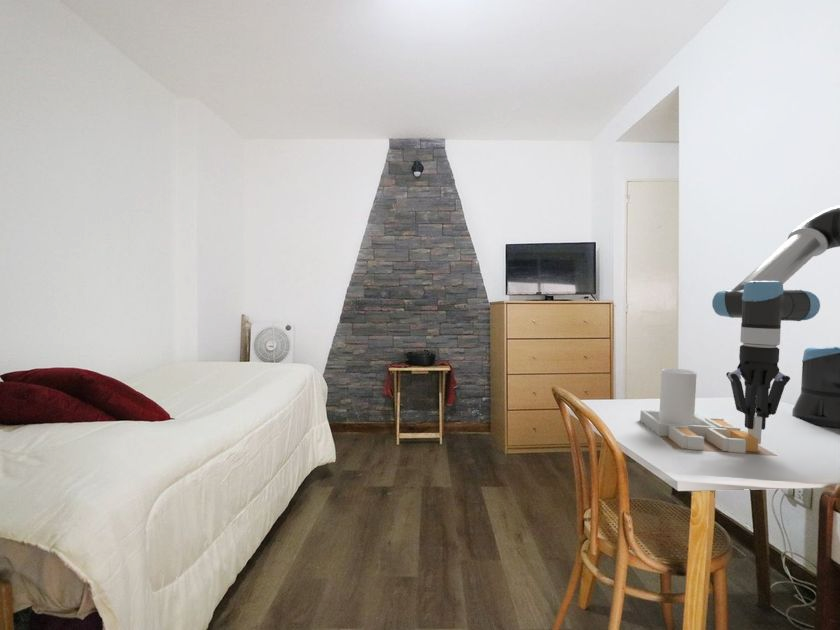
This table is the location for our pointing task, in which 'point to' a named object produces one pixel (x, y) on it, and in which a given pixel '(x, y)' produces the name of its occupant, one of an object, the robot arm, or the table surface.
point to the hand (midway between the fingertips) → (753, 441)
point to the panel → (711, 447)
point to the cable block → (750, 440)
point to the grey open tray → (725, 440)
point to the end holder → (663, 429)
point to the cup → (677, 396)
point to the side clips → (690, 439)
